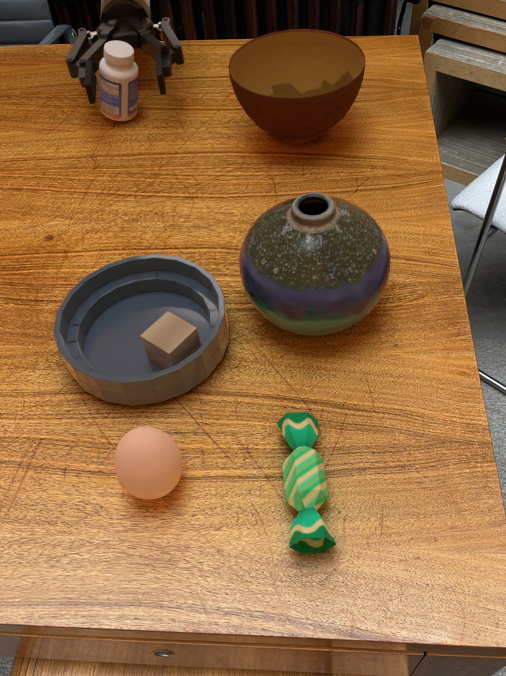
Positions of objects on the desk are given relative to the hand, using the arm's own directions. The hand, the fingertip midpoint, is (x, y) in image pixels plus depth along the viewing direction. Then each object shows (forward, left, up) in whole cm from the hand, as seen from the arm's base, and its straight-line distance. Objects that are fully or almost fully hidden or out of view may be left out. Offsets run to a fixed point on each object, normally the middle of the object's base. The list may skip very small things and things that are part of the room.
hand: (125, 89), depth 85 cm
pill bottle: (-7, +4, -7) cm, 11 cm away
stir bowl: (+25, -29, -8) cm, 39 cm away
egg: (+36, -42, -8) cm, 56 cm away
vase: (+38, -16, -8) cm, 42 cm away
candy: (+48, -36, -8) cm, 60 cm away
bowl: (+20, +12, -8) cm, 24 cm away
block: (+29, -30, -7) cm, 42 cm away
